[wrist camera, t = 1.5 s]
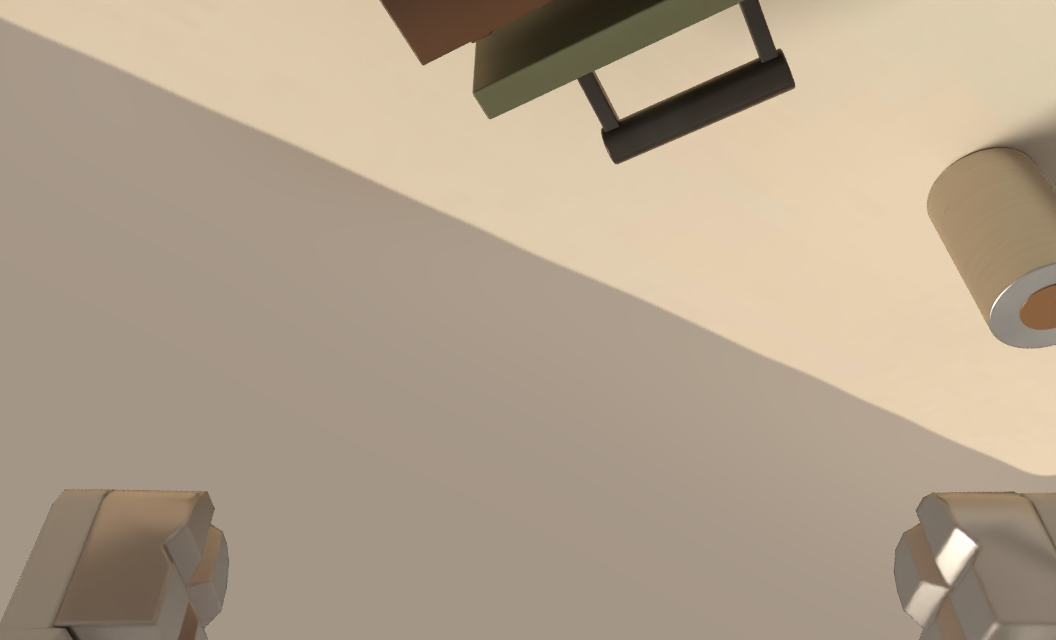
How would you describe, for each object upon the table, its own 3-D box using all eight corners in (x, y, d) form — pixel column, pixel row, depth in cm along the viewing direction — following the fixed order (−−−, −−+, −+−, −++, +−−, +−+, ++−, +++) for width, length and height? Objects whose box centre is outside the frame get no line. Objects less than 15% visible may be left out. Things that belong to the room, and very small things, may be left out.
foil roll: (1030, 130, 41) (1116, 243, 35) (1043, 209, 44) (1123, 325, 38) (916, 173, 42) (981, 288, 37) (936, 247, 46) (998, 364, 40)
